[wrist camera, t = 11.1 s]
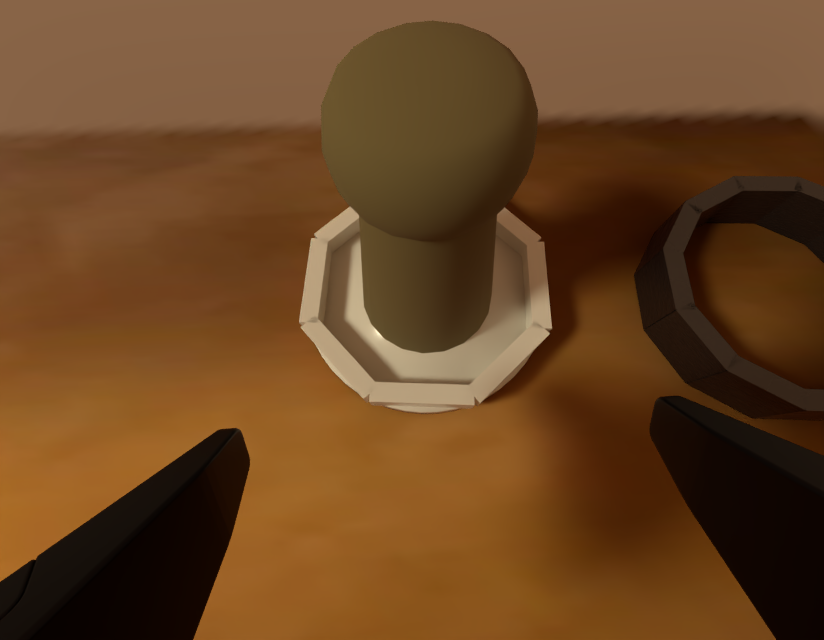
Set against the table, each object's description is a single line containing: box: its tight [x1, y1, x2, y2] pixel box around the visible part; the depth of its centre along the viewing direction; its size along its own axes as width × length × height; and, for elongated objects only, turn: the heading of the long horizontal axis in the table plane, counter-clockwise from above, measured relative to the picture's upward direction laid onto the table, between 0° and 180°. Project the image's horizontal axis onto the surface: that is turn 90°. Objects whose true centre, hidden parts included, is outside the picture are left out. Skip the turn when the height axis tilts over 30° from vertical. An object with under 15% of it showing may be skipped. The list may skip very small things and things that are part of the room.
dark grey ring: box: [634, 176, 824, 421], centre depth 17 cm, size 11×11×2 cm
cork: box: [321, 21, 538, 353], centre depth 13 cm, size 6×6×11 cm
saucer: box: [299, 207, 552, 414], centre depth 18 cm, size 11×11×2 cm
